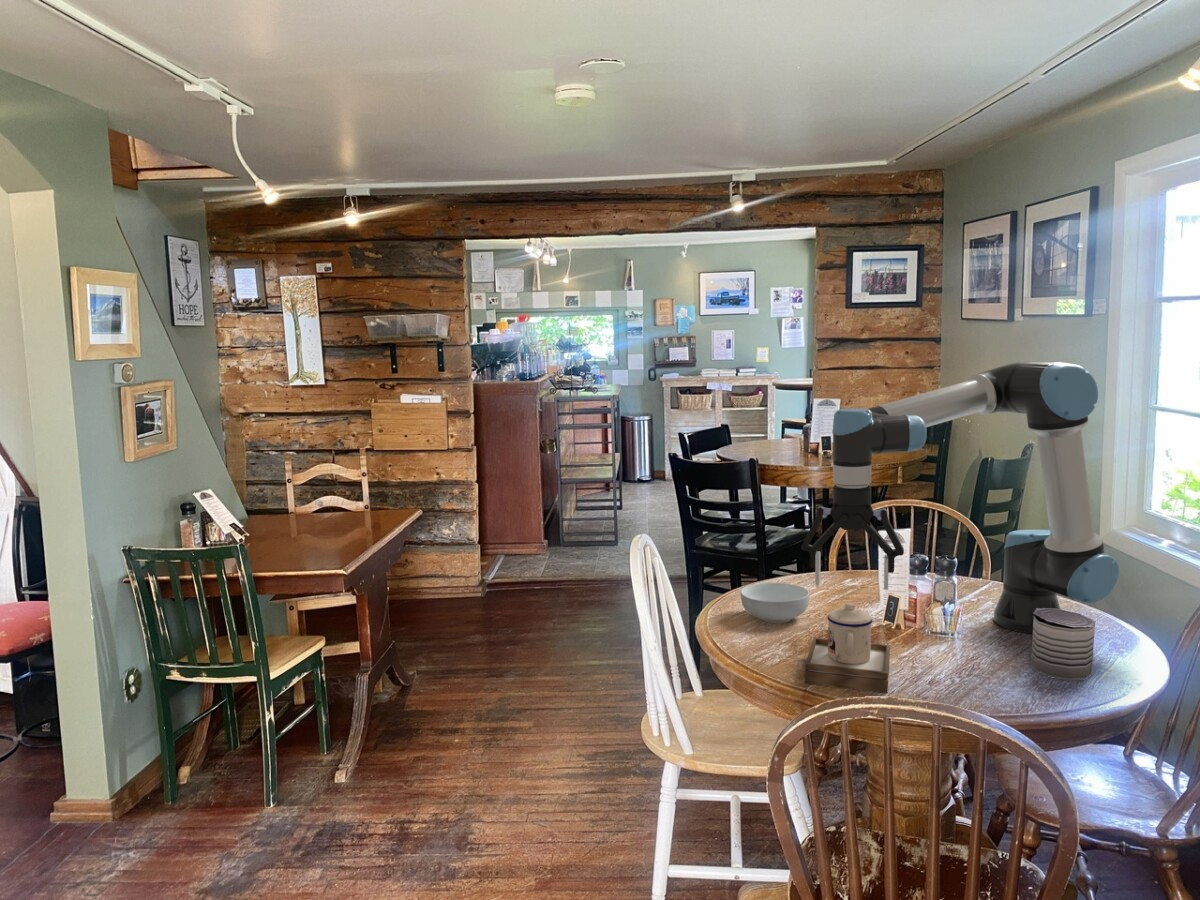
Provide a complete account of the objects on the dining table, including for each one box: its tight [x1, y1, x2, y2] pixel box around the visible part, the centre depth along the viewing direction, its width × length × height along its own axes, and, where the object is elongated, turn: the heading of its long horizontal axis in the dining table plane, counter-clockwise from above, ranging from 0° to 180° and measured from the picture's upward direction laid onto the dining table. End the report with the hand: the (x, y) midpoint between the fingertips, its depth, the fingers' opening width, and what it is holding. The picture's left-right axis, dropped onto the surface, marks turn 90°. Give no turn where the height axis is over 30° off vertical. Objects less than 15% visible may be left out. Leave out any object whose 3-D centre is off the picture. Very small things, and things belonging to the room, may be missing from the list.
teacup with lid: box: [826, 602, 873, 664], centre depth 179 cm, size 12×9×12 cm
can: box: [1030, 608, 1096, 681], centre depth 179 cm, size 11×11×12 cm
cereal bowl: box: [740, 581, 810, 624], centre depth 215 cm, size 17×17×7 cm
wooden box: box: [804, 637, 891, 694], centre depth 180 cm, size 16×16×4 cm
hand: (851, 585), depth 178 cm, fingers open, 13 cm apart
